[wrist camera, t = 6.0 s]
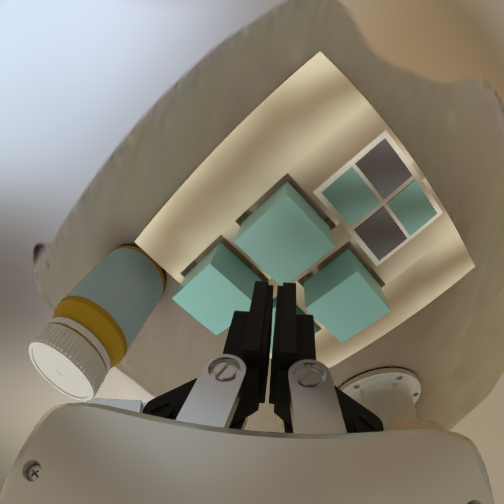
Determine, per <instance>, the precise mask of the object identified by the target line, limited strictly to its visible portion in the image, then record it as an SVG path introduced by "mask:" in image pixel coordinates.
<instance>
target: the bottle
mask: <svg viewBox="0 0 504 504" xmlns="http://www.w3.org/2000/svg"><path fill="white" fill-rule="evenodd" d="M164 288H165V278H164V274H163V271H162V269H161V267H160V266H159V264H158V263H157V262H156V261H154V260H153V259H152V258H151V257H150V256H149V255H148V254H147V253H146V252H145V251H144V250H142V249H140V248H138V247H134V246H121V247H118V248H117V249H115V250H113V251H112V252H111V253H110V254H109V255H108V256H106V257H105V258H104V259H103V260H102V261H101V262H100V263H99V264H98V265H97V266H96V267H95V268H94V269H93V270H92V271H91V272H90V273H89V274H88V275H87V276H85V277H84V278H83V279H82V280H81V281H80V282H79V283H78V284H77V285H76V286H75V287H74V288H73V289H72V290H71V291H70V292H69V293H68V294H67V295H66V296H65V297H64V299H63V300H62V301H61V302H60V303H59V304H58V306H57V308H56V310H55V313H54V315H53V318H52V320H51V321H50V322H49V323H48V324H47V325H46V326H45V327H44V328H43V329H42V330H41V331H40V332H39V334H38V335H37V336H36V337H35V338H34V339H33V341H32V342H31V344H30V346H29V355H30V358H31V360H32V362H33V364H34V366H35V367H36V369H37V370H38V371H39V373H40V374H41V375H42V376H43V377H44V378H45V379H46V380H47V381H48V382H49V383H50V384H51V385H52V386H53V387H55V388H56V389H57V390H59V391H60V392H62V393H63V394H65V395H67V396H69V397H71V398H73V399H76V400H80V401H88V400H90V399H92V398H93V397H94V396H95V395H96V393H97V391H98V389H99V388H100V386H101V384H102V383H103V381H104V379H105V376H106V375H107V373H108V371H109V370H110V369H111V368H112V367H114V366H115V365H117V364H118V363H119V362H120V361H121V360H122V359H123V357H124V356H125V354H126V353H127V351H128V349H129V348H130V346H131V344H132V343H133V341H134V339H135V338H136V336H137V334H138V333H139V331H140V330H141V328H142V326H143V325H144V323H145V321H146V320H147V318H148V317H149V315H150V313H151V312H152V310H153V309H154V307H155V305H156V304H157V302H158V301H159V299H160V298H161V295H162V294H163V291H164Z"/></svg>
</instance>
